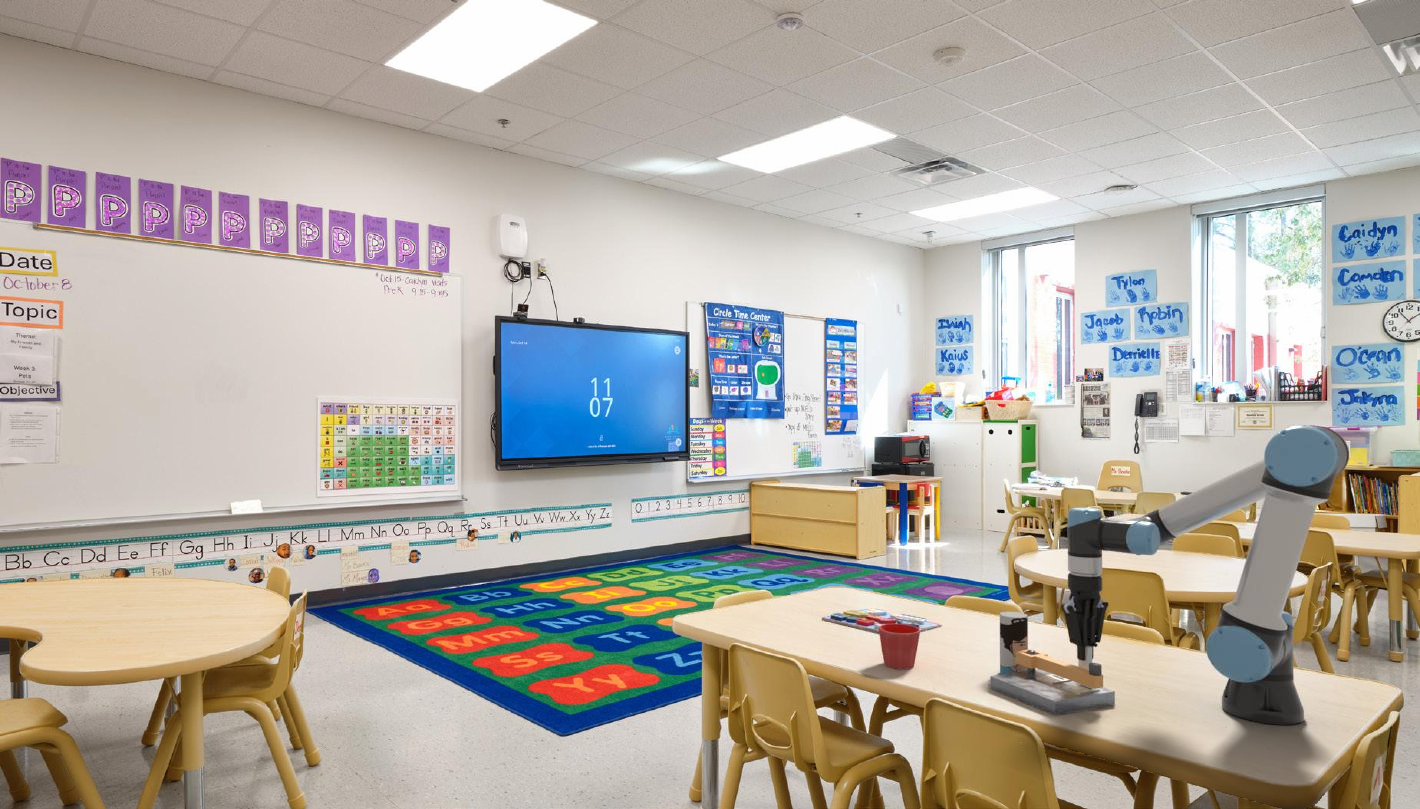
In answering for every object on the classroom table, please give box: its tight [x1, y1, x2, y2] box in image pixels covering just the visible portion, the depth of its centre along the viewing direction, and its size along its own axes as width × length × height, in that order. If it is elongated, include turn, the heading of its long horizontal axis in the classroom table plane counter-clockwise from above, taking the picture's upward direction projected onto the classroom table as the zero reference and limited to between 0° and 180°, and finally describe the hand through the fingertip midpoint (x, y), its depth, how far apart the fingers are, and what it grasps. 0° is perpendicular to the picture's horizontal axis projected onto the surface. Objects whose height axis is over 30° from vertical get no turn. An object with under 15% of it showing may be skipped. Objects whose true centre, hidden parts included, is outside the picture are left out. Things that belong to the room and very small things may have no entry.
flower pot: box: [878, 624, 921, 670], centre depth 221 cm, size 11×11×10 cm
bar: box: [1015, 648, 1104, 689], centre depth 197 cm, size 23×5×5 cm, turn 24°
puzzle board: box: [821, 608, 943, 634], centre depth 268 cm, size 30×23×3 cm
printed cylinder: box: [999, 611, 1029, 675], centre depth 213 cm, size 7×7×15 cm
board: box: [989, 649, 1116, 716], centre depth 196 cm, size 20×18×8 cm
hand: (1085, 673), depth 199 cm, fingers closed
